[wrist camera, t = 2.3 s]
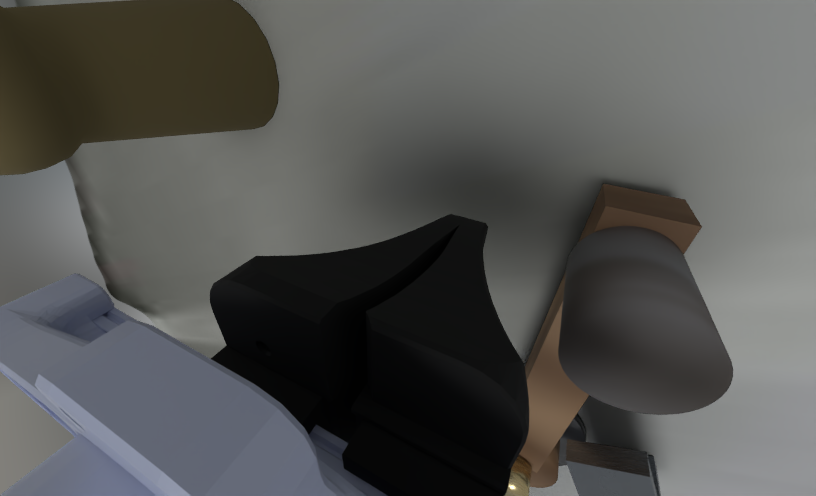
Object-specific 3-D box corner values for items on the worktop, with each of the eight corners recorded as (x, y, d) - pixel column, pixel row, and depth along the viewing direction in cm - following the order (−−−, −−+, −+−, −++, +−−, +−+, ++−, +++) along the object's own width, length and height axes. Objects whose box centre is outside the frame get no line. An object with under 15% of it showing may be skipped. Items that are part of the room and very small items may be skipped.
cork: (289, 42, 14) (-119, 41, 6) (268, 150, 18) (3, 239, 10) (189, -34, 15) (-329, -134, 6) (190, 88, 19) (-130, 125, 10)
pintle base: (469, 429, 23) (450, 493, 20) (469, 365, 20) (445, 429, 17) (575, 469, 21) (572, 552, 17) (596, 403, 17) (598, 490, 14)
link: (547, 463, 20) (535, 585, 16) (479, 430, 22) (451, 534, 17) (723, 207, 10) (837, 345, 5) (572, 177, 11) (562, 267, 7)
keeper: (594, 458, 19) (596, 541, 16) (569, 383, 17) (566, 460, 14) (656, 470, 18) (672, 564, 14) (637, 387, 15) (650, 477, 12)
